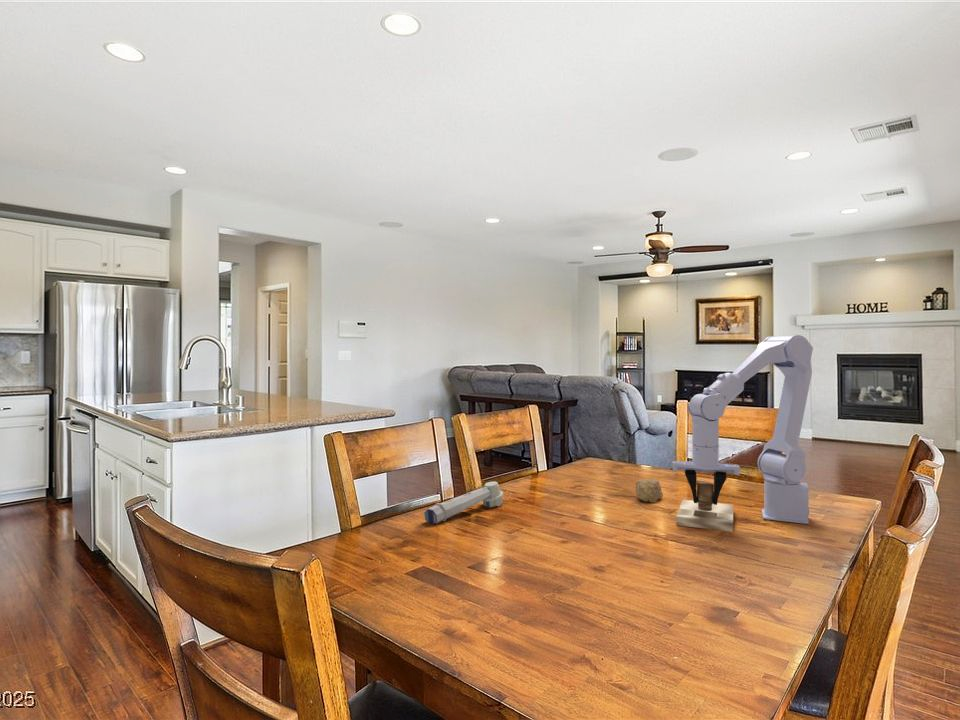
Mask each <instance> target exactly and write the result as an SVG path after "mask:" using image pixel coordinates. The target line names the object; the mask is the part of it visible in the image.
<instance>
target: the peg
mask: <svg viewBox="0 0 960 720" xmlns="http://www.w3.org/2000/svg"><path fill="white" fill-rule="evenodd" d="M696 493H697V503H698V509H699V510H703V511H711V510H712V504H713V502H714V501H713V494H714V483H711V482H707V481H698V482H696Z"/></svg>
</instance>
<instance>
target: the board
mask: <svg viewBox="0 0 960 720" xmlns="http://www.w3.org/2000/svg"><path fill="white" fill-rule="evenodd" d="M675 517H676V519H675V522H676V523H675V525H676V526H682V527H689V528H690V527H691V528H698V529H705V530H716V531H722V532H731V533H733V532H734V504H731V503H730V504H728V503H720V502H717V505H714V504H712V510H711V511H703V510H699V509H698V503H694V501H693V499H691V500H690V499H682V500H681V503H680V506H679V509H678V511H677V514H676V516H675Z"/></svg>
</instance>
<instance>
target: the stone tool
mask: <svg viewBox="0 0 960 720" xmlns="http://www.w3.org/2000/svg"><path fill="white" fill-rule="evenodd" d="M634 489H635V494H636V496H637V497H638V498H639V499H640V500H641V502H645V503H647V502H649V503H656V502H657V501H658V500H661V498H662V497H663V495H664V494H663V491H662V487H661V484H660V481H659V480H658V479H655V478H647V479H645V478H641V479H639V480H637V481H636V482H635V488H634Z"/></svg>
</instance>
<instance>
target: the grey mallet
mask: <svg viewBox="0 0 960 720" xmlns="http://www.w3.org/2000/svg"><path fill="white" fill-rule="evenodd" d="M503 497H504V492H503V491H502V490H501V489H500V485H499V482H497V481H489V482H485V484H484V485H483V487H480V488H477V489H475V490H472V491H469V492H466V493H464V494H462V495H458V496H456V497H453V498H450V499H449V500H446V501H443V502H440V503H439V502H436V503H435V504H434V505H433V506H431V507H428V508H427V509H426V510H425V511H424V514H423V515H424V520H425V521H426V523H427V522H428V523H427V524H430V525H433V526H434V525H436V524H439V523H441V522H446V520H447V519H449V518H451V517H454V516H455V515H457V514H459V513H462V512H463V511H465V510H467V509H469V508H471V507H473V506H475V505H477V504H479V503H481V502H482V504H483V506H484V507H485V506H486V508H493V507H496V506H498V507H500V506H502V504H503V502H504V501H503Z"/></svg>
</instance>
